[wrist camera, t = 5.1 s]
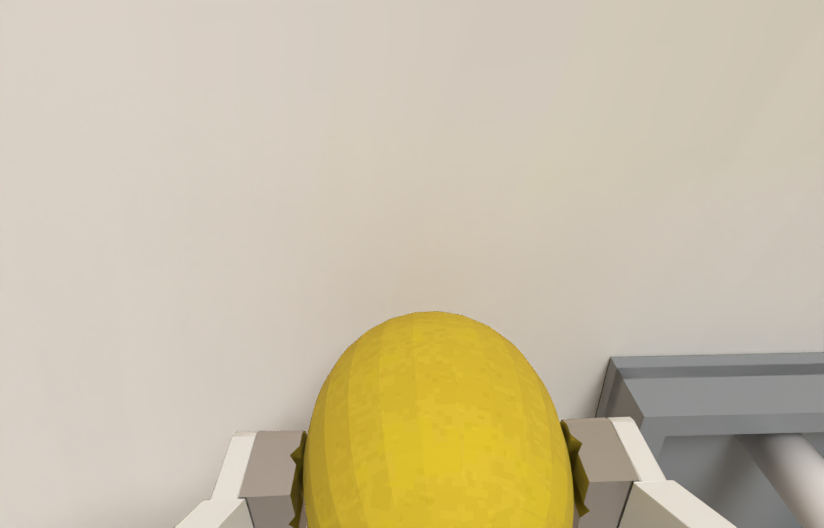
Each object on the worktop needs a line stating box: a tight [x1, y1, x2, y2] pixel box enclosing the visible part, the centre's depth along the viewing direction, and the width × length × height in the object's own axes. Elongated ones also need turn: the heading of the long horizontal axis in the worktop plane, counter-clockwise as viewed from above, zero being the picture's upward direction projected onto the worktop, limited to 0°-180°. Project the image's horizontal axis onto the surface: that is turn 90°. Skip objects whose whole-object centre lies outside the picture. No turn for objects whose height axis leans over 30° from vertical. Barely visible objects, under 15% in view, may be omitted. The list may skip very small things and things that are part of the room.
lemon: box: [303, 311, 574, 528], centre depth 11 cm, size 6×6×8 cm
